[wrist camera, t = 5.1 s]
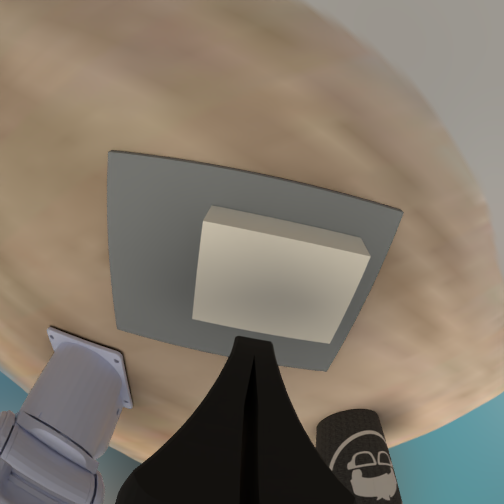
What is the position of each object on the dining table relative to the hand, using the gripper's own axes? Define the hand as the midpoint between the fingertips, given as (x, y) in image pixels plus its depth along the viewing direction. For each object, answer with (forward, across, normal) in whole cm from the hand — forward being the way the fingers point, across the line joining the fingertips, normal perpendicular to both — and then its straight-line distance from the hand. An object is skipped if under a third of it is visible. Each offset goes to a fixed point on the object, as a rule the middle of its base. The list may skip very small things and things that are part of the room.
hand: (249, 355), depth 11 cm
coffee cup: (+7, -13, +17) cm, 22 cm away
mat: (+7, +1, +2) cm, 7 cm away
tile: (+5, +3, 0) cm, 6 cm away
